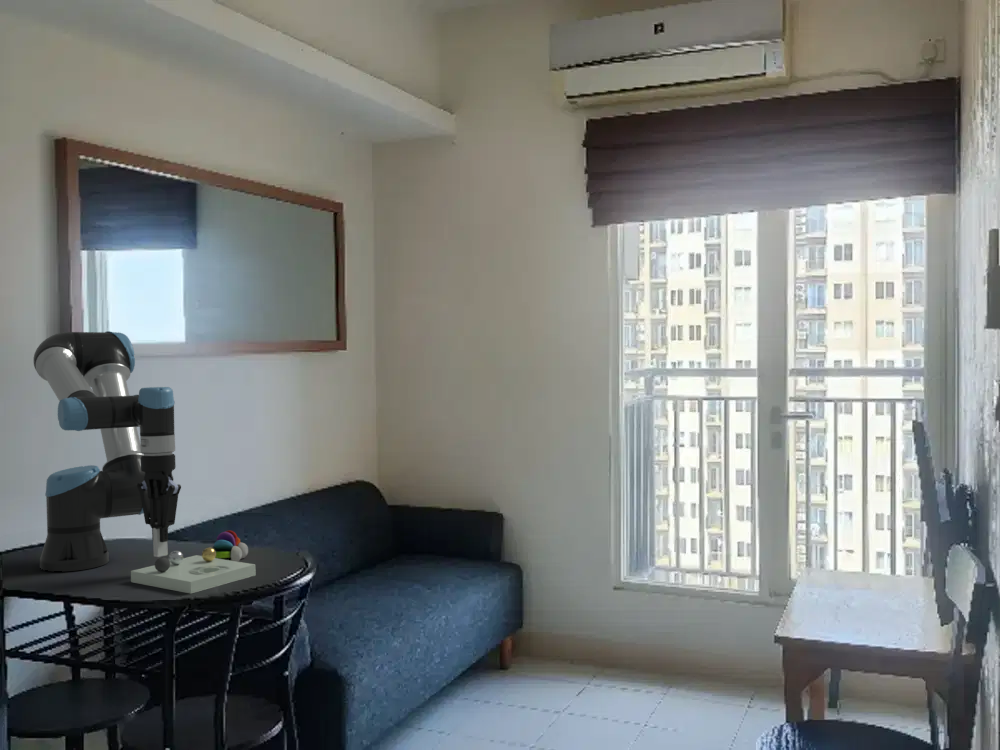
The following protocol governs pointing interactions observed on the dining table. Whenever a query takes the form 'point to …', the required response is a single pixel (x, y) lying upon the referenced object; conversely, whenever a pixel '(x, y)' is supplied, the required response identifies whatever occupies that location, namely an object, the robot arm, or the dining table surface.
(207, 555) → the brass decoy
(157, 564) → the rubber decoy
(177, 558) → the steel ball
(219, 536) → the rainbow disc rolling toy
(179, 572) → the pale green flat slab
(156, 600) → the dining table surface
